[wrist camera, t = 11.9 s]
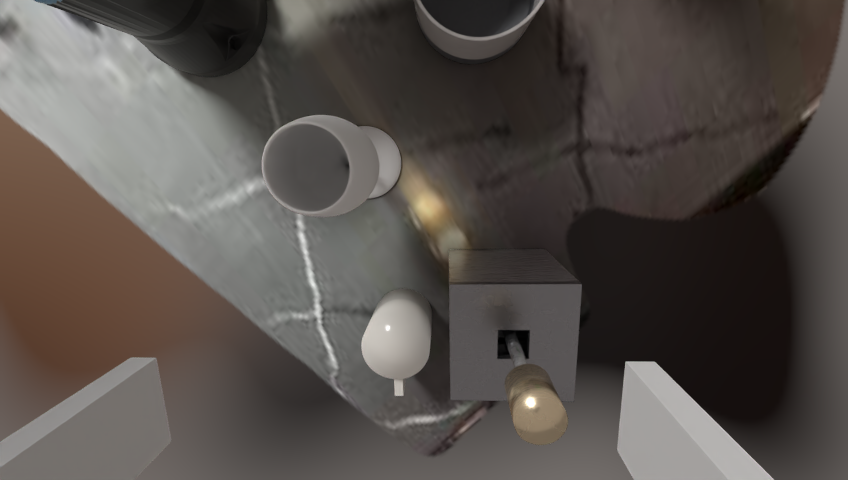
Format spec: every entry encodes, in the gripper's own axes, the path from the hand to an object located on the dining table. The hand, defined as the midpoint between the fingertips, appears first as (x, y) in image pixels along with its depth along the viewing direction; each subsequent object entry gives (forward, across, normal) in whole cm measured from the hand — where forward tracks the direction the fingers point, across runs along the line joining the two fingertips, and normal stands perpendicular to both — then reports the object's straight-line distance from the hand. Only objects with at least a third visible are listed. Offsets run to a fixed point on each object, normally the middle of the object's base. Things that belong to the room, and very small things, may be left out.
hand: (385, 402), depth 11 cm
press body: (+39, +8, -11) cm, 41 cm away
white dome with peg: (+39, -4, -16) cm, 42 cm away
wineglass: (+39, -8, +6) cm, 40 cm away
